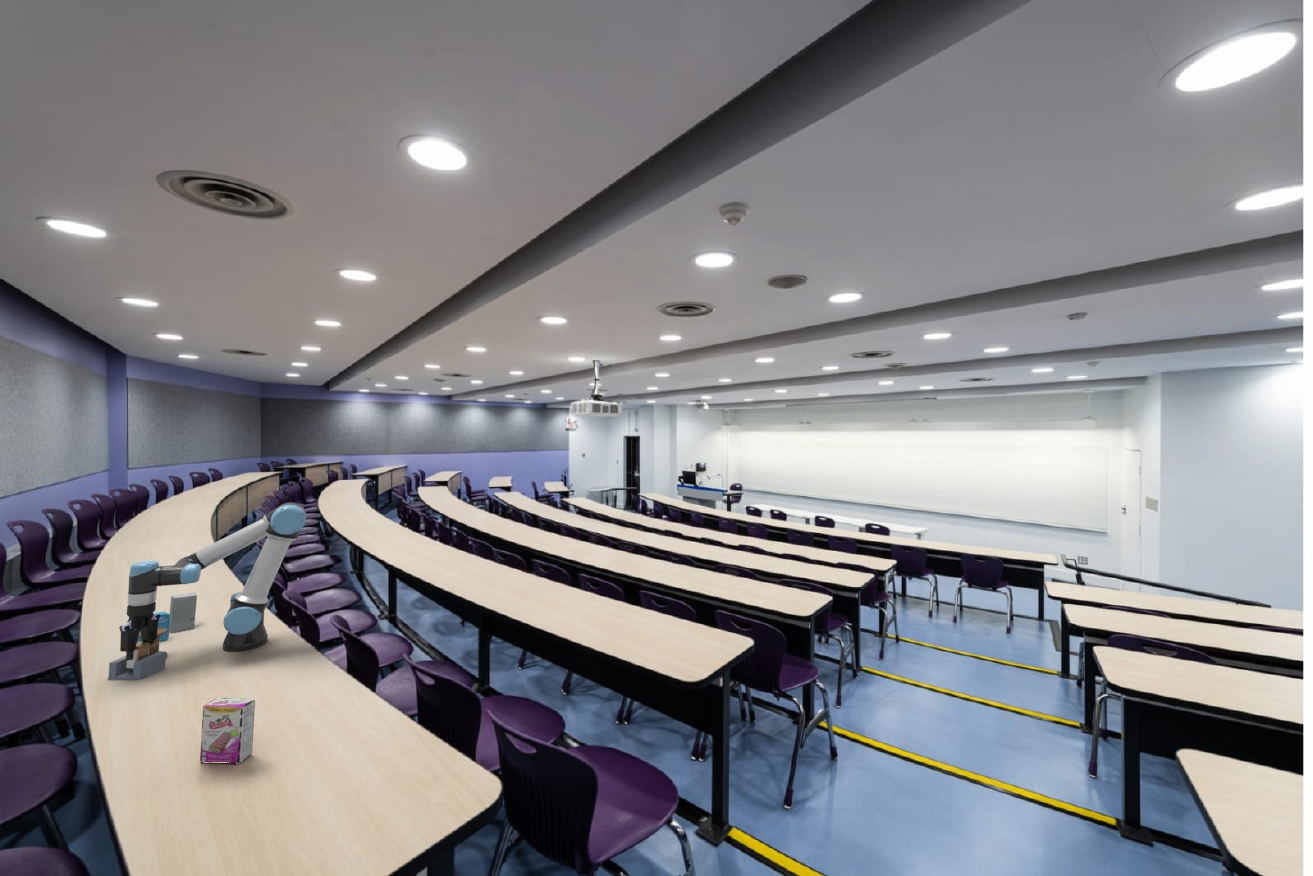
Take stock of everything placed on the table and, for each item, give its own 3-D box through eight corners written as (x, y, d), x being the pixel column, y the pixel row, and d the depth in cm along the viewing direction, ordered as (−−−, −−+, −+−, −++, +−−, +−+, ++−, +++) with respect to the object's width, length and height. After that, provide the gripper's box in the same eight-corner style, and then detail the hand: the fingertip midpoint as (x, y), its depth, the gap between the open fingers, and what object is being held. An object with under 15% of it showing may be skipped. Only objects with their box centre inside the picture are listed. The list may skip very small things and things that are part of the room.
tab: (147, 663, 185) (149, 642, 185) (137, 668, 181) (138, 646, 181) (136, 662, 185) (138, 642, 185) (126, 667, 181) (127, 646, 181)
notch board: (165, 667, 188) (166, 651, 188) (139, 679, 178) (140, 663, 179) (135, 667, 188) (136, 651, 188) (108, 679, 178) (109, 662, 178)
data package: (129, 649, 202) (131, 620, 202) (126, 646, 204) (128, 618, 205) (168, 640, 212) (170, 612, 213) (165, 637, 215) (167, 610, 215)
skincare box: (170, 633, 219) (172, 598, 219) (167, 629, 223) (169, 595, 223) (195, 628, 226) (197, 594, 226) (192, 624, 230) (194, 591, 230)
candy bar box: (198, 764, 135) (201, 706, 136) (213, 753, 140) (217, 696, 141) (238, 765, 136) (242, 707, 136) (253, 754, 141) (256, 697, 141)
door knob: (173, 654, 199) (175, 627, 200) (152, 664, 190) (154, 636, 191) (150, 654, 199) (151, 627, 199) (128, 664, 190) (129, 636, 190)
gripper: (153, 595, 192) (149, 654, 191) (107, 610, 175) (102, 675, 174) (173, 596, 192) (169, 655, 192) (129, 611, 175) (125, 675, 175)
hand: (137, 664), depth 183 cm, fingers closed on tab, 4 cm apart
